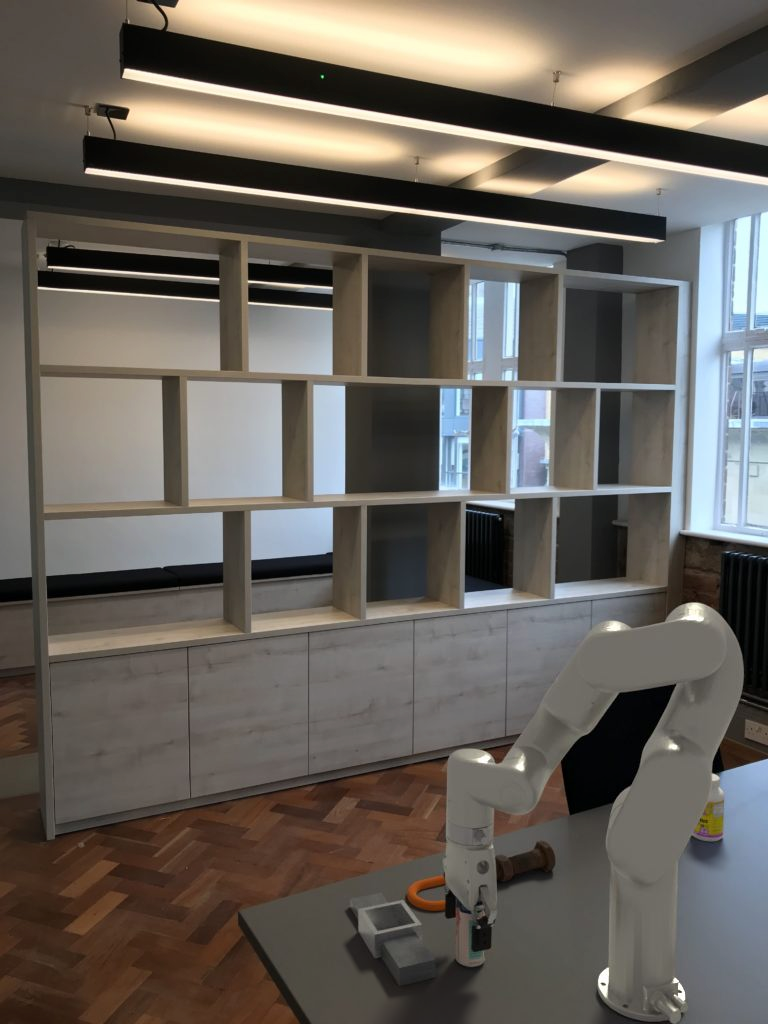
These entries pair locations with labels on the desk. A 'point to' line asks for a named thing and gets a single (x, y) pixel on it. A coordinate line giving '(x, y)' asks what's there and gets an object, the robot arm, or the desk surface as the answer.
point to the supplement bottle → (712, 815)
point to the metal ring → (423, 885)
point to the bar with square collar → (394, 937)
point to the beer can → (466, 936)
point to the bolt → (525, 861)
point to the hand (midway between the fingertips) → (467, 932)
